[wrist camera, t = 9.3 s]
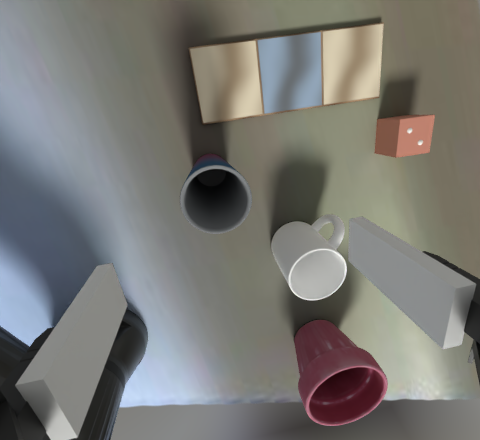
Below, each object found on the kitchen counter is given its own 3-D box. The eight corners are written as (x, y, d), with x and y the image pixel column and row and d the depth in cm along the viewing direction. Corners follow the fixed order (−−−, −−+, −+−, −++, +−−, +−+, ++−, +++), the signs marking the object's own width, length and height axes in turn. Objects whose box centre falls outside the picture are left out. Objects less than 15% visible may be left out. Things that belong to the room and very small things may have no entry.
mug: (305, 192, 42) (336, 214, 33) (340, 218, 45) (378, 246, 35) (260, 248, 45) (276, 284, 35) (295, 270, 47) (319, 309, 38)
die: (374, 153, 41) (397, 157, 36) (376, 119, 39) (401, 119, 35) (404, 148, 42) (430, 152, 37) (407, 115, 40) (436, 114, 35)
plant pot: (345, 356, 57) (382, 418, 45) (282, 367, 56) (304, 434, 44) (351, 303, 52) (395, 358, 40) (282, 314, 50) (307, 374, 39)
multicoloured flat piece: (202, 124, 36) (202, 124, 35) (188, 48, 33) (188, 47, 32) (376, 98, 38) (380, 97, 37) (380, 23, 35) (384, 21, 34)
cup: (222, 139, 37) (235, 152, 23) (240, 182, 40) (262, 217, 26) (179, 158, 37) (166, 183, 24) (199, 200, 40) (199, 244, 26)
